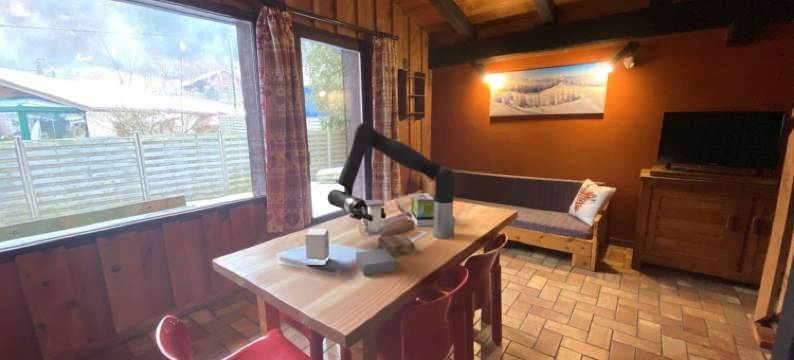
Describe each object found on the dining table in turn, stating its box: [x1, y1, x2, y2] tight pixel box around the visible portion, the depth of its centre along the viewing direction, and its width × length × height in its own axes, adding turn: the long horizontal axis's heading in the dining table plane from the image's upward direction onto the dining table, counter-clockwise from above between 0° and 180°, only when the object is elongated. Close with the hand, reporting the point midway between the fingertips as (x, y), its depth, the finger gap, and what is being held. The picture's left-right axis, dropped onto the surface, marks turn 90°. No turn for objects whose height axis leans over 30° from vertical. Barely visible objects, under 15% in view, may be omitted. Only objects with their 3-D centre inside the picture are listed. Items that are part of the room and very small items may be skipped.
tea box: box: [411, 192, 434, 227], centre depth 176 cm, size 15×10×15 cm
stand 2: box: [377, 233, 415, 257], centre depth 140 cm, size 12×12×4 cm
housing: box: [364, 198, 386, 237], centre depth 121 cm, size 6×6×12 cm
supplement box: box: [305, 228, 330, 260], centre depth 126 cm, size 7×7×13 cm
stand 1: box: [355, 248, 396, 277], centre depth 123 cm, size 12×12×4 cm
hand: (378, 217), depth 118 cm, fingers closed on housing, 5 cm apart
